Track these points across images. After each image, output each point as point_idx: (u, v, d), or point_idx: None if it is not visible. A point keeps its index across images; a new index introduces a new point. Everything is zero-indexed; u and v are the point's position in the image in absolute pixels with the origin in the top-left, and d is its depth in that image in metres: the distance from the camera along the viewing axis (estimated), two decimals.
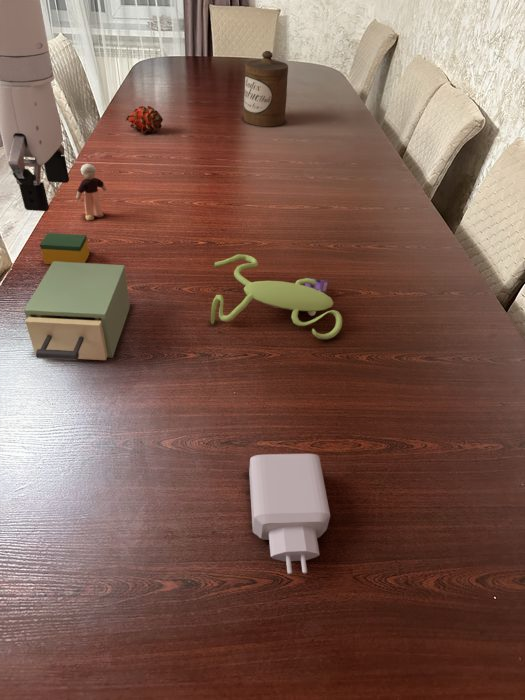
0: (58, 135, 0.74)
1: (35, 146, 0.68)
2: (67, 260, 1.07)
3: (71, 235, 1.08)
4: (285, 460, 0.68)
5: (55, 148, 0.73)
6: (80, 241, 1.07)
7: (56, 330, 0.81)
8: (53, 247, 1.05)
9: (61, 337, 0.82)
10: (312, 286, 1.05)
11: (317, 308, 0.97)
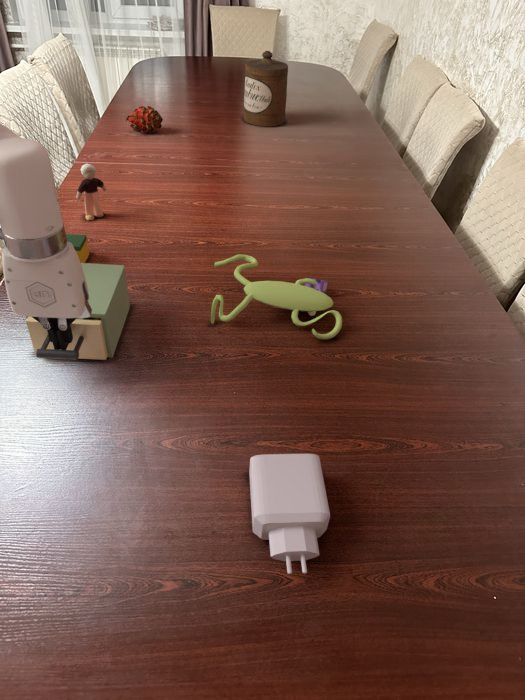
0: None
1: None
2: None
3: (71, 235, 1.08)
4: (285, 460, 0.68)
5: None
6: (80, 241, 1.07)
7: None
8: None
9: None
10: (312, 286, 1.05)
11: (317, 308, 0.97)
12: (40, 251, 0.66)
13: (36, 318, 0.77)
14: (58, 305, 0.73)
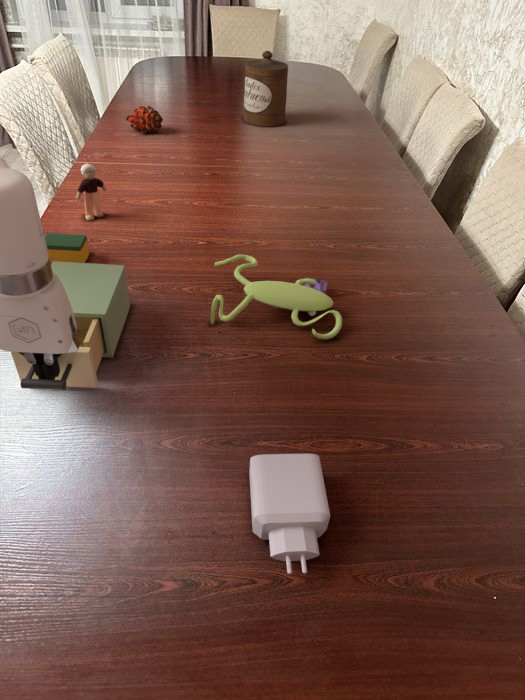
0: None
1: (74, 318, 0.72)
2: (67, 260, 1.07)
3: (71, 235, 1.08)
4: (285, 460, 0.68)
5: None
6: (80, 241, 1.07)
7: None
8: (53, 247, 1.05)
9: None
10: (312, 286, 1.05)
11: (317, 308, 0.97)
12: (23, 287, 0.62)
13: (20, 352, 0.72)
14: (43, 341, 0.68)
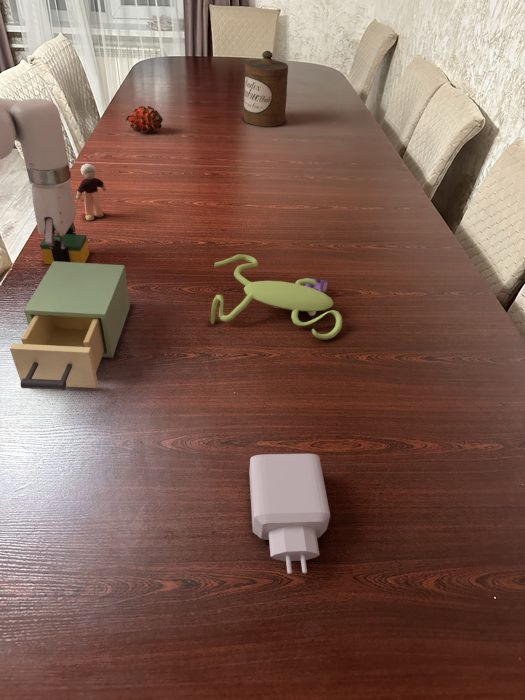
0: (73, 212, 1.06)
1: (58, 225, 0.99)
2: None
3: (71, 235, 1.08)
4: (285, 460, 0.68)
5: (71, 222, 1.05)
6: (80, 241, 1.07)
7: (43, 357, 0.77)
8: None
9: (48, 365, 0.78)
10: (312, 286, 1.05)
11: (317, 308, 0.97)
12: (28, 174, 0.96)
13: None
14: None
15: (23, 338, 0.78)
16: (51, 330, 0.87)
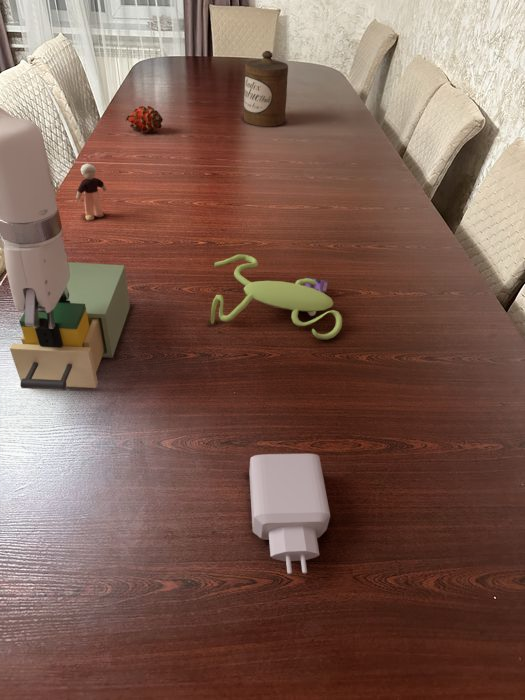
0: (66, 274, 0.75)
1: (44, 298, 0.68)
2: None
3: (64, 304, 0.77)
4: (285, 460, 0.68)
5: (63, 288, 0.74)
6: (77, 314, 0.76)
7: (42, 357, 0.77)
8: None
9: (48, 365, 0.78)
10: (312, 286, 1.05)
11: (317, 308, 0.97)
12: None
13: None
14: None
15: (23, 338, 0.78)
16: None
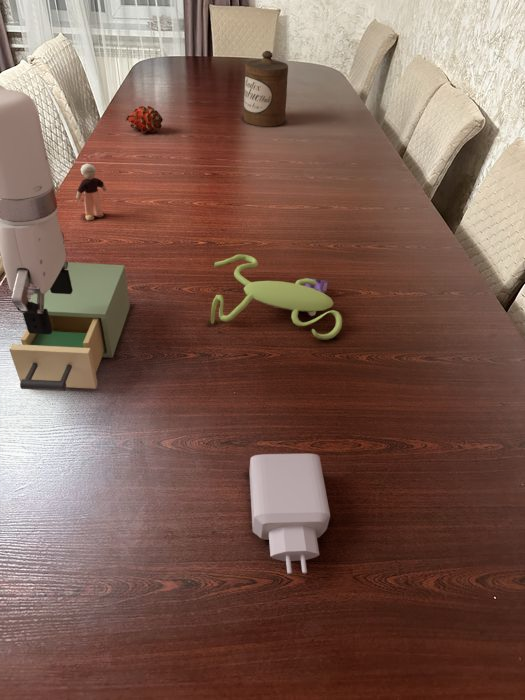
0: (62, 256, 0.73)
1: (38, 279, 0.67)
2: None
3: (70, 334, 0.81)
4: (285, 460, 0.68)
5: (59, 270, 0.72)
6: None
7: (42, 358, 0.76)
8: None
9: (47, 366, 0.77)
10: (312, 286, 1.05)
11: (317, 308, 0.97)
12: None
13: None
14: None
15: (23, 339, 0.78)
16: None
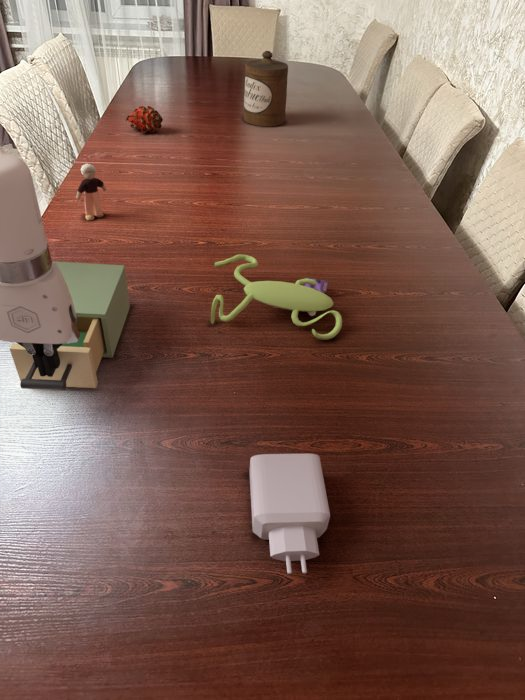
0: None
1: (74, 308, 0.71)
2: None
3: None
4: (285, 460, 0.68)
5: None
6: (83, 344, 0.80)
7: None
8: None
9: None
10: (312, 286, 1.05)
11: (317, 308, 0.97)
12: (22, 275, 0.62)
13: (20, 343, 0.72)
14: (43, 330, 0.68)
15: None
16: None
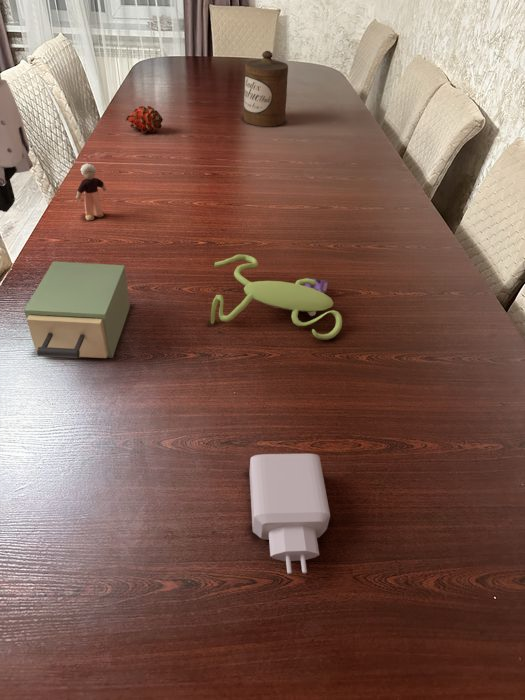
0: None
1: (26, 135, 0.72)
2: None
3: None
4: (285, 460, 0.68)
5: None
6: None
7: (57, 328, 0.82)
8: None
9: (62, 335, 0.83)
10: (312, 286, 1.05)
11: (317, 308, 0.97)
12: None
13: None
14: None
15: None
16: None
